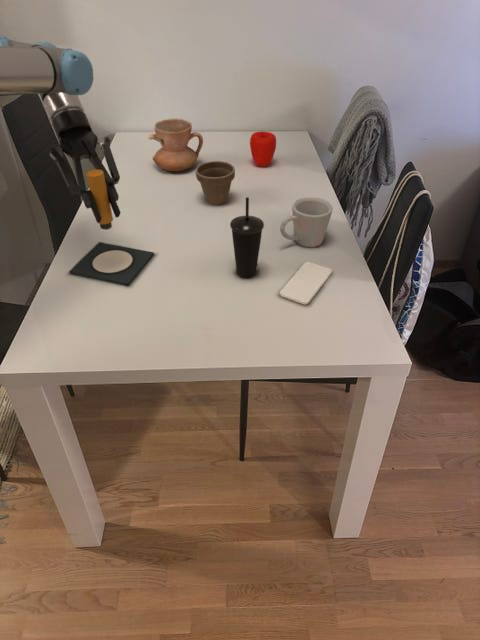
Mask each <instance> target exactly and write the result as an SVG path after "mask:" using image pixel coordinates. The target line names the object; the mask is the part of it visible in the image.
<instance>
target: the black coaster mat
mask: <svg viewBox="0 0 480 640" xmlns="http://www.w3.org/2000/svg"><path fill="white" fill-rule="evenodd" d="M154 256H155V252H153V251H148V250H143V249H138V248H133V247H127V246H121V245H118V244H117V245H116V244H113V243H106V242H101V241H99V242H98V243H96V244H95V245H94V246H93V247H92V248H91V250H89V251H88V253H86V254H85V255H84V256H83V257H82V258H81V259H80V260H79V261H78V262H77V263H76V264H75V265H74V266H73V267H72V268H71V269H70V270H69V274H70V275H74V276H79V277H82V278H88V279H92V280H98V281H102V282H106V283H112V284H117V285H122V286H126V287H129V286H130V285H131V284H132V282H133V281H134V280H135V279H136V278H137V277H138V275H139V274H140V273H141V272H142V271H143V269H144V268H145V267H146V266H147V264H148V263H149V262H150V260H151V259H153V257H154Z"/></svg>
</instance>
